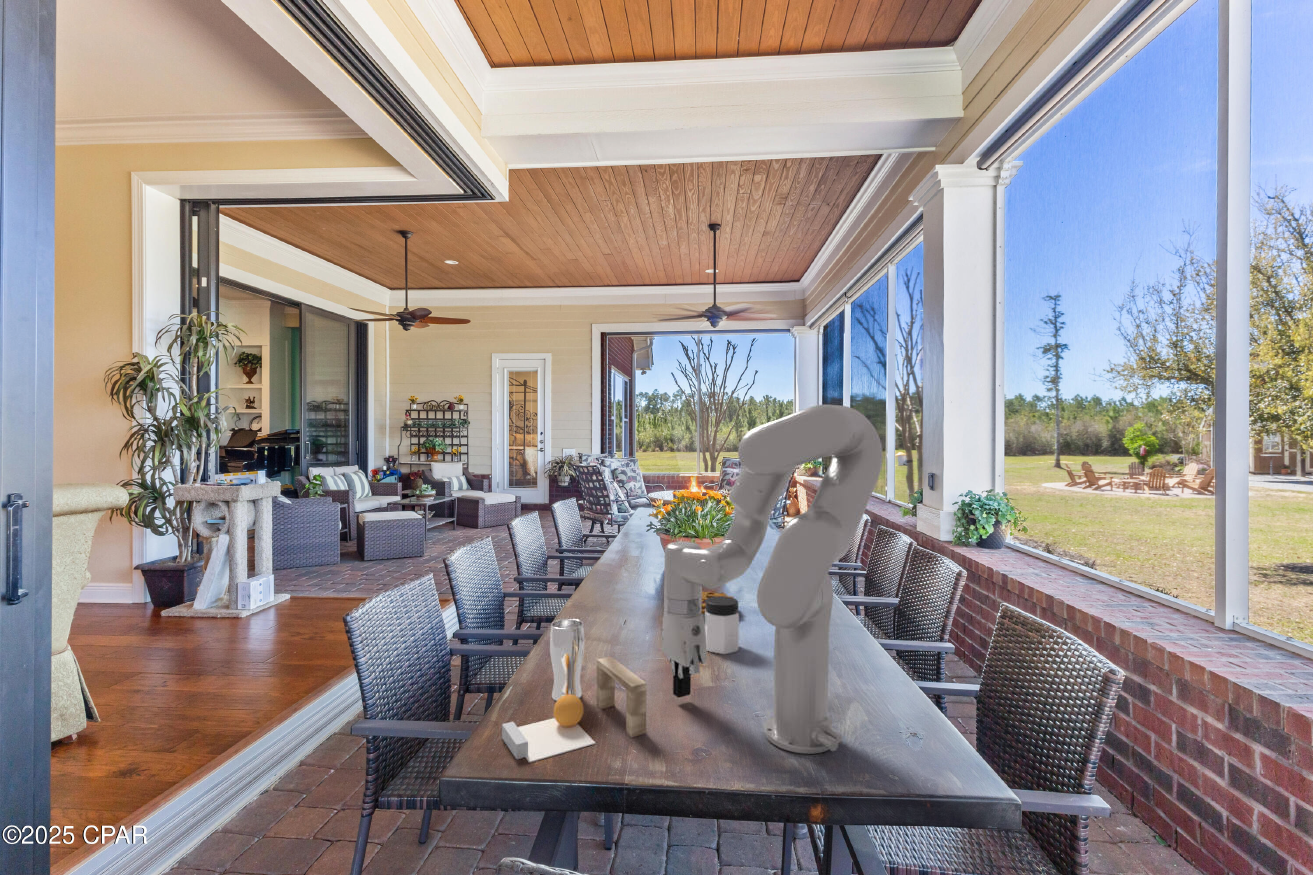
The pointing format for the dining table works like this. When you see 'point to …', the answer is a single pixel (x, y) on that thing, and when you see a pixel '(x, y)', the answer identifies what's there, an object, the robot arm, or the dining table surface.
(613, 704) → the bridge
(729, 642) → the jar
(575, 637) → the beer glass
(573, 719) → the ball
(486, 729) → the dining table surface
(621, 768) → the dining table surface
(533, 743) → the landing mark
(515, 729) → the stopper wall
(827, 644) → the robot arm
